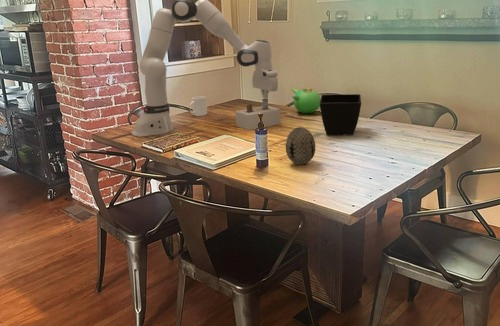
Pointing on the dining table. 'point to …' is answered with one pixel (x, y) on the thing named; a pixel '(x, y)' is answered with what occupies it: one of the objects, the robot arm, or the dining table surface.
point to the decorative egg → (300, 146)
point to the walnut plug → (249, 108)
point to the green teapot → (306, 100)
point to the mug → (199, 106)
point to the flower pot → (340, 113)
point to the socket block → (251, 119)
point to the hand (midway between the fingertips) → (265, 97)
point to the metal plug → (265, 103)
